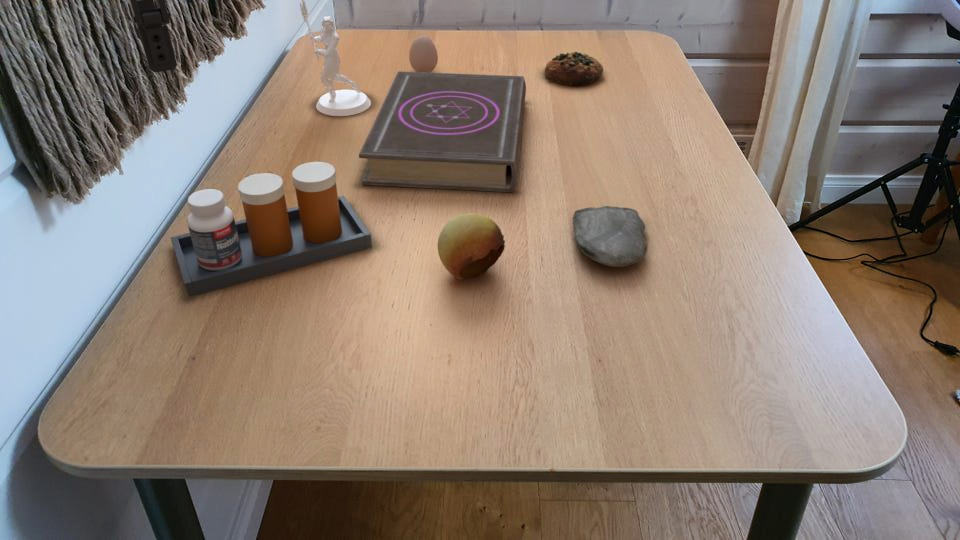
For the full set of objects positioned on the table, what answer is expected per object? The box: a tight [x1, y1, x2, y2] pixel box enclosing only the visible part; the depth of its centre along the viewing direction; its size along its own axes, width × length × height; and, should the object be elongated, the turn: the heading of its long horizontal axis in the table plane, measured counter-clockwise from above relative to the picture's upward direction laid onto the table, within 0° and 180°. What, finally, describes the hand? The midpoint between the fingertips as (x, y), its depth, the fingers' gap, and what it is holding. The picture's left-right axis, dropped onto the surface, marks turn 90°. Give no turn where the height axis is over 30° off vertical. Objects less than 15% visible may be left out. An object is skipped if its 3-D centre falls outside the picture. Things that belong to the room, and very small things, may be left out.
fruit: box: [437, 212, 506, 281], centre depth 87 cm, size 8×8×8 cm
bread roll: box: [544, 51, 604, 87], centre depth 138 cm, size 11×11×5 cm
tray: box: [170, 195, 373, 298], centre depth 93 cm, size 23×11×2 cm, turn 117°
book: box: [358, 70, 527, 193], centre depth 116 cm, size 30×22×5 cm
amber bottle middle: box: [237, 172, 293, 257], centre depth 90 cm, size 5×5×9 cm
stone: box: [572, 205, 648, 268], centre depth 93 cm, size 13×9×3 cm
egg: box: [408, 34, 439, 73], centre depth 137 cm, size 5×5×7 cm
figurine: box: [299, 0, 372, 117], centre depth 123 cm, size 10×10×18 cm
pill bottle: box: [186, 188, 242, 271], centre depth 88 cm, size 5×5×9 cm
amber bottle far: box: [291, 161, 342, 243], centre depth 93 cm, size 5×5×9 cm
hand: (156, 53), depth 65 cm, fingers open, 8 cm apart
